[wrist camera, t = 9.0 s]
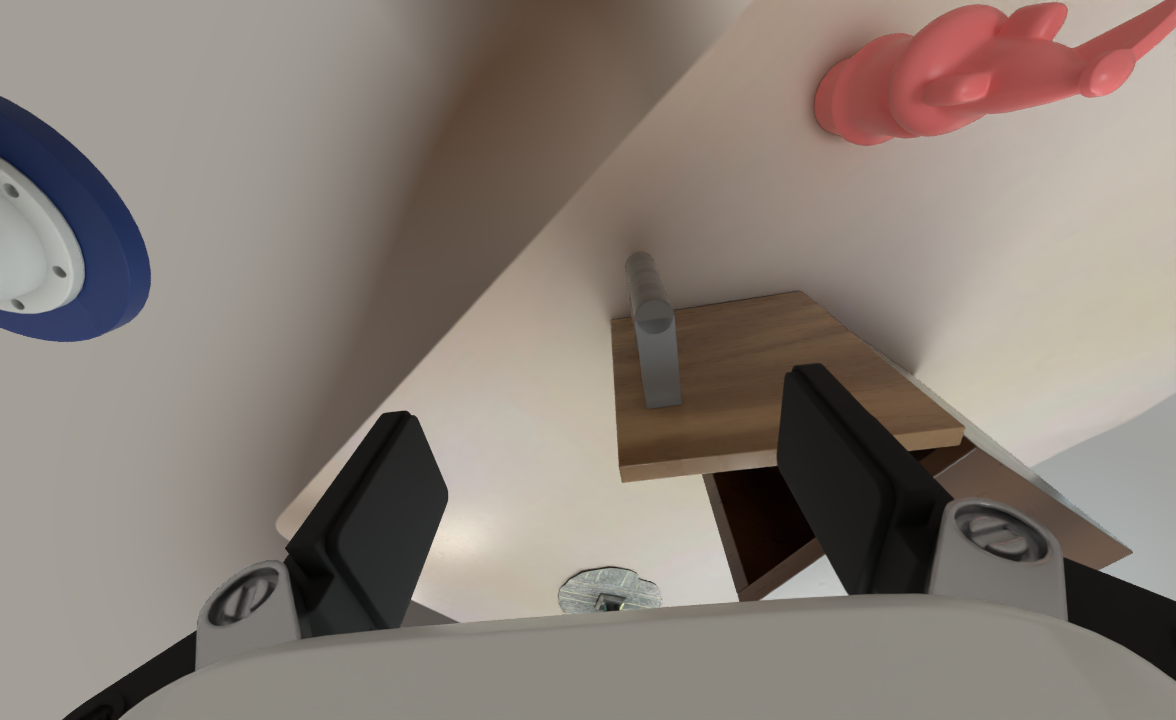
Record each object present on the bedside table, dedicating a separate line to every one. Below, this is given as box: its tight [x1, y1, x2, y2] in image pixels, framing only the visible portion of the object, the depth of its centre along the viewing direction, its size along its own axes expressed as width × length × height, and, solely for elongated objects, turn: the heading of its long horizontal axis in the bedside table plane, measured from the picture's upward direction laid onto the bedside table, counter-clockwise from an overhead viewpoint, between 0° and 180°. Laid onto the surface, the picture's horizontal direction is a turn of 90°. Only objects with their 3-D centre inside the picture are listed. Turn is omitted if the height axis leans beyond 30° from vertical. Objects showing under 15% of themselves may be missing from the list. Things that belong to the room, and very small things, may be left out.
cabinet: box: [702, 334, 1133, 602], centre depth 28 cm, size 12×14×16 cm
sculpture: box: [559, 568, 662, 615], centre depth 50 cm, size 12×9×8 cm
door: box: [611, 252, 965, 483], centre depth 23 cm, size 7×14×16 cm, turn 100°
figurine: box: [814, 0, 1176, 146], centre depth 18 cm, size 5×5×15 cm
